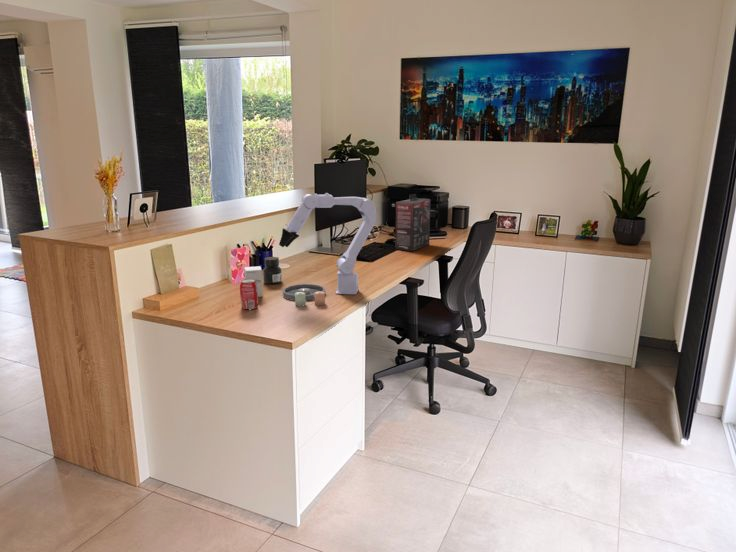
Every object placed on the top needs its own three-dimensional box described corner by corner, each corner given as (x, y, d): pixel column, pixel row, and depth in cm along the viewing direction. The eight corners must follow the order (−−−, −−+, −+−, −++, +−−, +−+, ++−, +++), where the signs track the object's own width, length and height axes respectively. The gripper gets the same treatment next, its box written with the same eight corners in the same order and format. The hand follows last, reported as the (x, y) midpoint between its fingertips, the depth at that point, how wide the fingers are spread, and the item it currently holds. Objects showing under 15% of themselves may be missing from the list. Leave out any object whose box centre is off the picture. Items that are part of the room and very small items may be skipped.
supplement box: (246, 298, 245) (244, 270, 242) (245, 293, 252) (243, 266, 249) (263, 296, 247) (261, 269, 244) (261, 292, 254) (260, 265, 250)
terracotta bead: (325, 302, 239) (325, 291, 237) (323, 305, 235) (323, 294, 233) (315, 302, 239) (315, 291, 238) (313, 305, 235) (313, 294, 234)
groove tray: (328, 289, 258) (328, 284, 258) (320, 301, 240) (320, 296, 240) (289, 287, 261) (289, 283, 260) (278, 299, 243) (277, 295, 242)
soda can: (251, 304, 236) (249, 277, 233) (261, 307, 232) (260, 280, 229) (237, 308, 231) (235, 280, 228) (248, 311, 227) (246, 283, 224)
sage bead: (306, 303, 238) (306, 292, 236) (304, 306, 234) (303, 295, 232) (296, 303, 238) (296, 291, 237) (294, 306, 234) (293, 294, 233)
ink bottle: (277, 285, 265) (276, 261, 262) (260, 284, 266) (259, 260, 263) (284, 280, 274) (283, 256, 271) (268, 279, 276) (266, 255, 273)
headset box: (413, 242, 362) (414, 192, 353) (430, 245, 356) (431, 193, 347) (394, 249, 342) (395, 195, 333) (412, 252, 335) (413, 197, 327)
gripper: (294, 215, 247) (279, 241, 249) (287, 213, 233) (271, 241, 234) (308, 223, 247) (292, 249, 248) (301, 222, 233) (285, 249, 234)
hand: (283, 246), depth 241 cm, fingers open, 7 cm apart
